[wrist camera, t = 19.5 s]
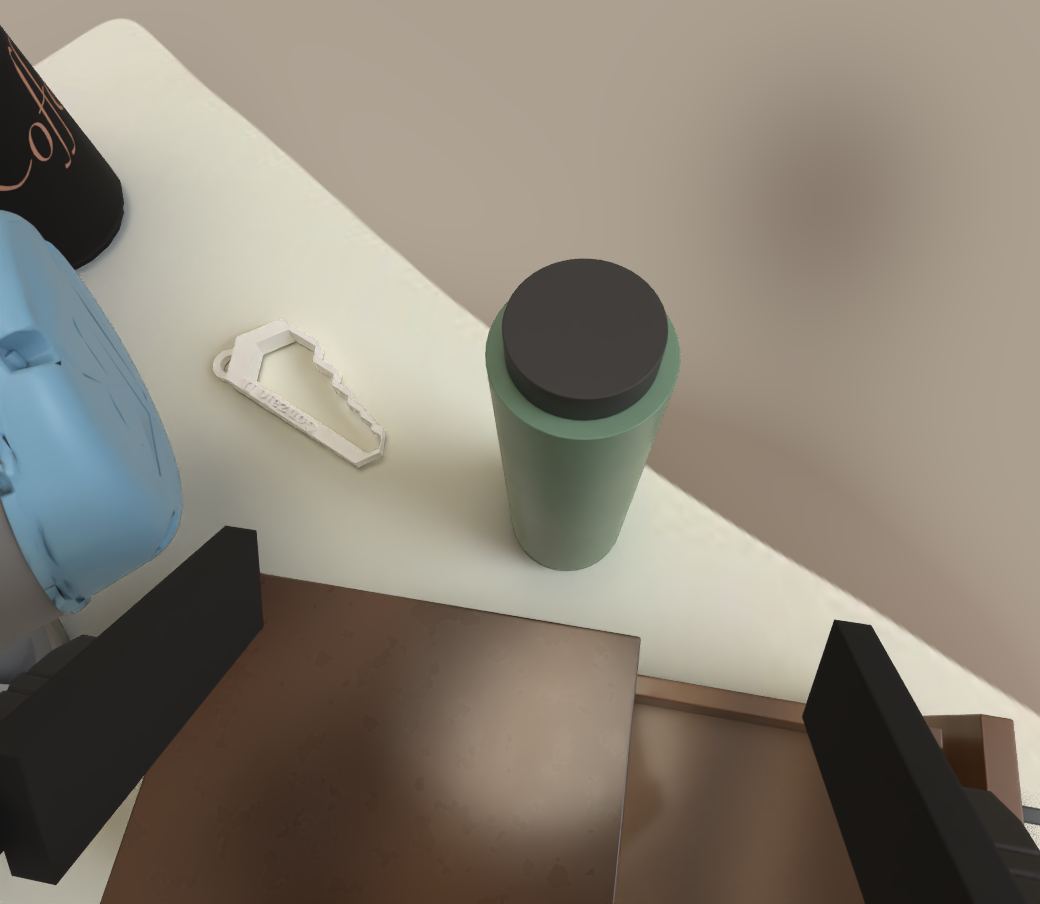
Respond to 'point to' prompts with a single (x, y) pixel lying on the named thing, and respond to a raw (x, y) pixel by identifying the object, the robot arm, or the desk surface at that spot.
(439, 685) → the cabinet
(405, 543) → the desk surface
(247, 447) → the desk surface
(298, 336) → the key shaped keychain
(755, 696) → the drawer
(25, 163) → the coffee jar
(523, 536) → the bottle
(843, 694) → the robot arm
